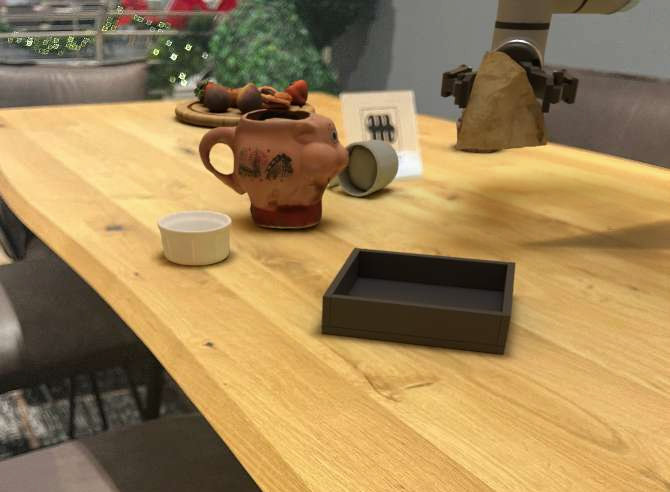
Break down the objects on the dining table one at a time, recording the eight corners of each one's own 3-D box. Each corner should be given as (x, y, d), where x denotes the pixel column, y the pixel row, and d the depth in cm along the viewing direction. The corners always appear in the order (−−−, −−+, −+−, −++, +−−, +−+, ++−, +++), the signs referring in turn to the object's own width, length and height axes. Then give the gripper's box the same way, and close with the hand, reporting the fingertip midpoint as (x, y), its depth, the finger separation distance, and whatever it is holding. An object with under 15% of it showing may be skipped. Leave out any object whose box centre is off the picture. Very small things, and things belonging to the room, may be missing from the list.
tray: (509, 296, 84) (515, 262, 82) (503, 354, 71) (511, 315, 69) (352, 281, 87) (354, 247, 85) (321, 333, 75) (322, 296, 73)
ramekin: (210, 272, 89) (208, 234, 87) (146, 261, 92) (142, 224, 90) (245, 251, 96) (244, 215, 93) (184, 241, 99) (182, 206, 96)
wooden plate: (309, 106, 189) (310, 68, 185) (320, 130, 163) (322, 87, 159) (179, 106, 188) (177, 68, 183) (170, 130, 162) (167, 86, 157)
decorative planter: (198, 234, 101) (191, 119, 93) (205, 210, 111) (200, 103, 103) (348, 235, 101) (354, 120, 93) (342, 210, 111) (347, 104, 103)
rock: (559, 121, 93) (481, 102, 96) (572, 62, 85) (487, 43, 88) (527, 191, 91) (448, 170, 93) (538, 137, 83) (451, 116, 85)
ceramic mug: (400, 189, 122) (403, 136, 118) (377, 200, 116) (380, 145, 112) (342, 181, 127) (343, 130, 122) (317, 191, 121) (318, 138, 117)
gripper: (588, 108, 102) (597, 139, 84) (430, 100, 106) (406, 128, 89) (602, 43, 98) (614, 61, 80) (437, 37, 102) (413, 54, 84)
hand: (505, 96), depth 84 cm, fingers closed on rock, 8 cm apart
